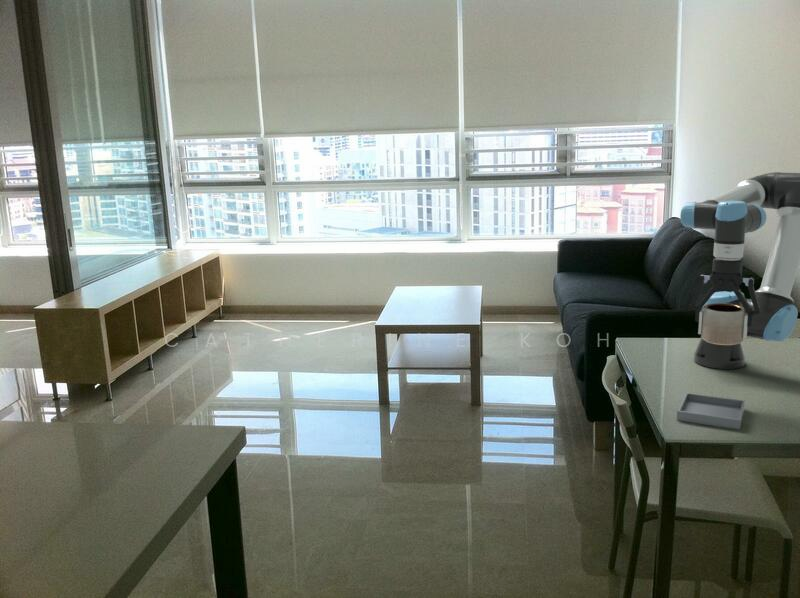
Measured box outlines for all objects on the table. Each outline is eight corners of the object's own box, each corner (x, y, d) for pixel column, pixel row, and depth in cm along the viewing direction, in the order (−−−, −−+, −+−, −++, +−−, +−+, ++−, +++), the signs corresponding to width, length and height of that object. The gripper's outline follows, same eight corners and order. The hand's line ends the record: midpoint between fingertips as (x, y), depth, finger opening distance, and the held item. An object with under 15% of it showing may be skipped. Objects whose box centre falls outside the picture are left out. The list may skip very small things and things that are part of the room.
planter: (747, 346, 202) (750, 312, 200) (705, 345, 204) (707, 311, 202) (737, 335, 213) (739, 303, 210) (697, 334, 215) (699, 302, 212)
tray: (685, 400, 209) (685, 392, 208) (744, 409, 202) (745, 400, 201) (676, 419, 196) (677, 411, 195) (739, 429, 189) (740, 420, 188)
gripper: (680, 257, 205) (676, 334, 210) (774, 263, 194) (767, 343, 199) (685, 253, 212) (680, 327, 217) (776, 258, 201) (769, 336, 206)
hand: (722, 335), depth 208 cm, fingers closed on planter, 11 cm apart
